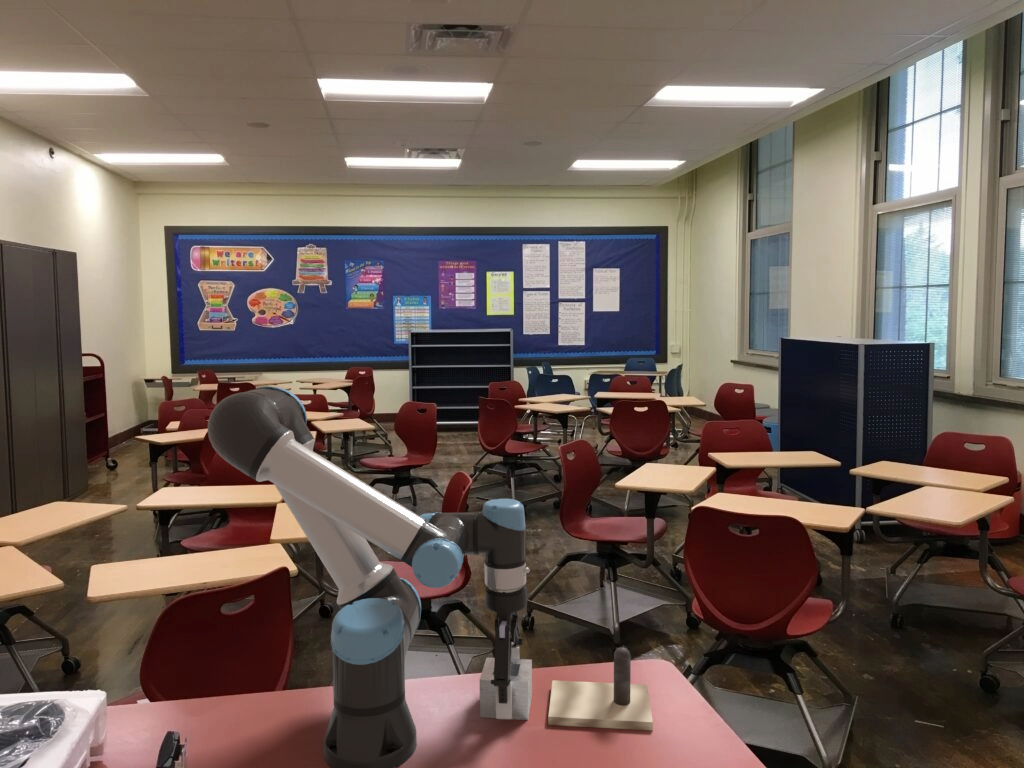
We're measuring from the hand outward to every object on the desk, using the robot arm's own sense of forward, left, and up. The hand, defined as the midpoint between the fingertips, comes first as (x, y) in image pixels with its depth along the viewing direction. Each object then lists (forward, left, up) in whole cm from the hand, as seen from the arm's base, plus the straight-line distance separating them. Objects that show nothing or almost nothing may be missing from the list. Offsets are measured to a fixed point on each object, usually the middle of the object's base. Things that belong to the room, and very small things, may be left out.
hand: (508, 698), depth 133 cm
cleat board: (+17, +1, -2) cm, 17 cm away
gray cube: (0, 0, -2) cm, 2 cm away
